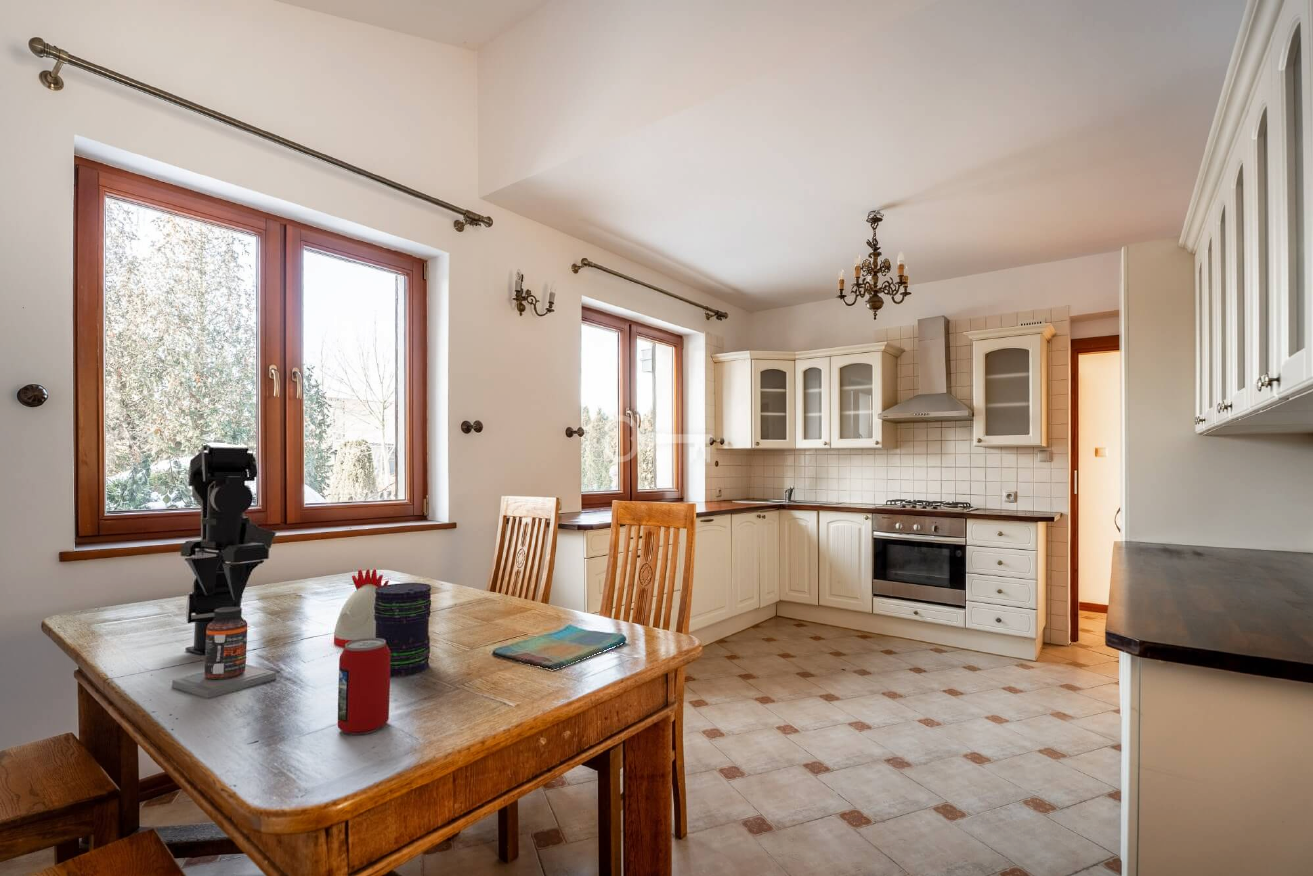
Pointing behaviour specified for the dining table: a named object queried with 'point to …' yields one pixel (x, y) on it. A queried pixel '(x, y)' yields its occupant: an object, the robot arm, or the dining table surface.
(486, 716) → the dining table surface
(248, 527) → the robot arm
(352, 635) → the kitchen timer
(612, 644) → the dish towel
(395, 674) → the dark blue cylinder
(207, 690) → the plate
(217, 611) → the supplement bottle
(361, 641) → the beverage can
